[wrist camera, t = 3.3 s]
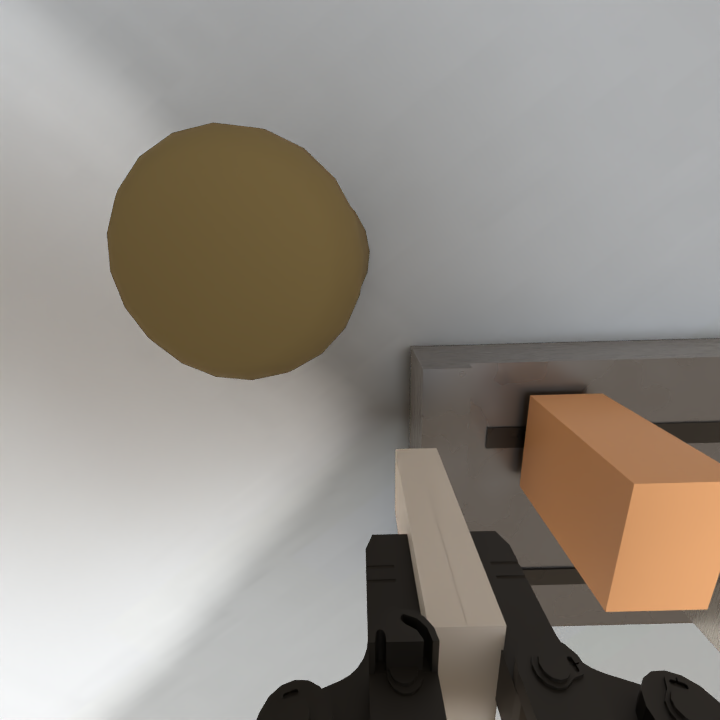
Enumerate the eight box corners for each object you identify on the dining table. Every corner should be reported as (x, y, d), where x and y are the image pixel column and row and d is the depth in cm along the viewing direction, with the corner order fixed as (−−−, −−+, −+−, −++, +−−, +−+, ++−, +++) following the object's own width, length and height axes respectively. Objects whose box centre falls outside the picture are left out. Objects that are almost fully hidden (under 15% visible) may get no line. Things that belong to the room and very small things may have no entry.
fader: (530, 395, 15) (634, 483, 9) (602, 393, 15) (749, 480, 9) (519, 485, 17) (605, 612, 11) (585, 483, 17) (707, 609, 11)
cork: (310, 152, 16) (213, -44, 5) (395, 265, 17) (457, 290, 7) (211, 245, 17) (-36, 239, 6) (299, 344, 18) (219, 475, 8)
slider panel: (410, 346, 18) (449, 417, 11) (934, 332, 18) (1353, 393, 11) (407, 581, 23) (432, 751, 15) (829, 570, 23) (1071, 736, 15)
